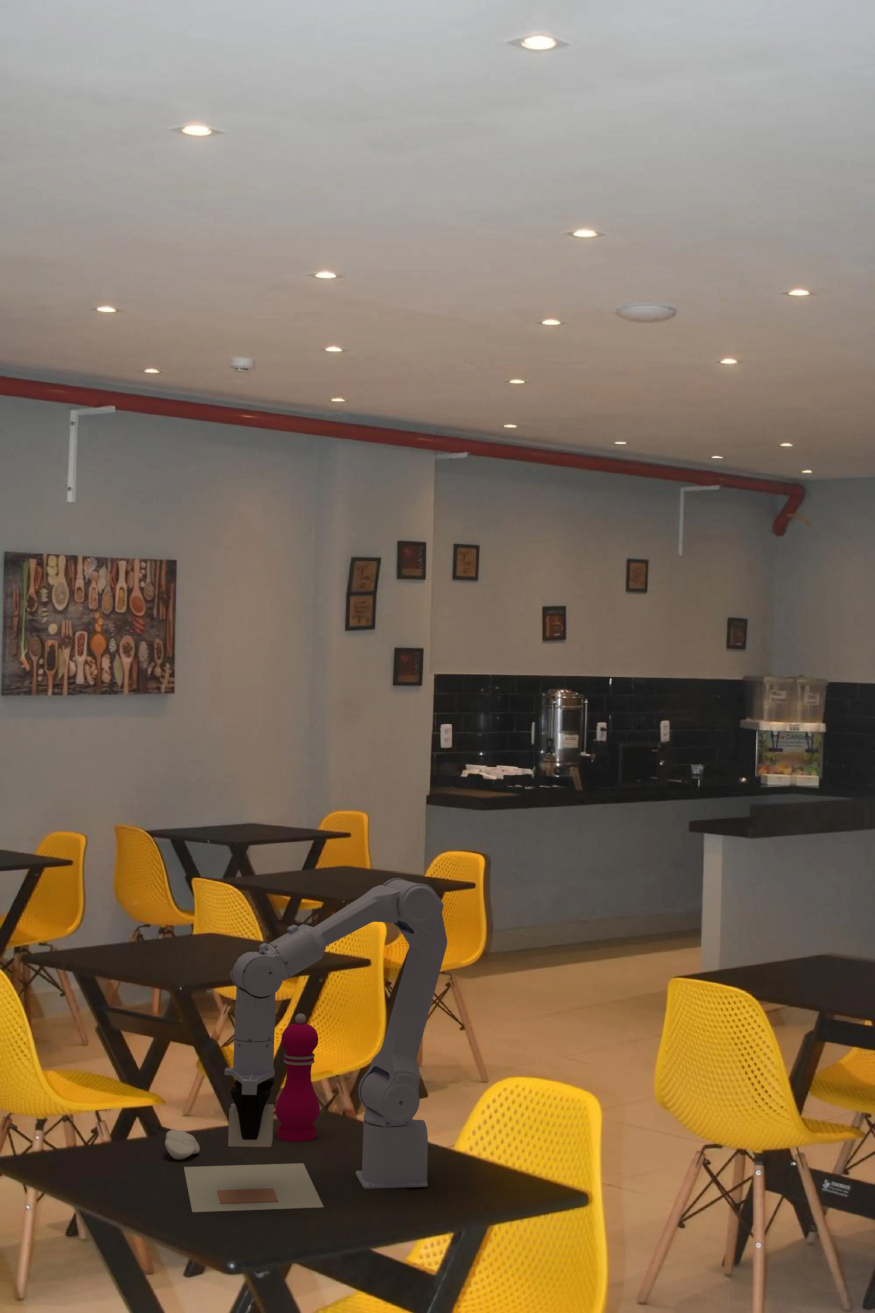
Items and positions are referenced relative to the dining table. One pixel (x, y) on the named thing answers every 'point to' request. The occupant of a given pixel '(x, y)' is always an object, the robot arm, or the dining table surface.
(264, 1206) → the mat
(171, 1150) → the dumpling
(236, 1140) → the plain grayish brown block
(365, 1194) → the dining table surface
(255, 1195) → the flat orange brown slab
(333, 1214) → the dining table surface
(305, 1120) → the pepper mill
